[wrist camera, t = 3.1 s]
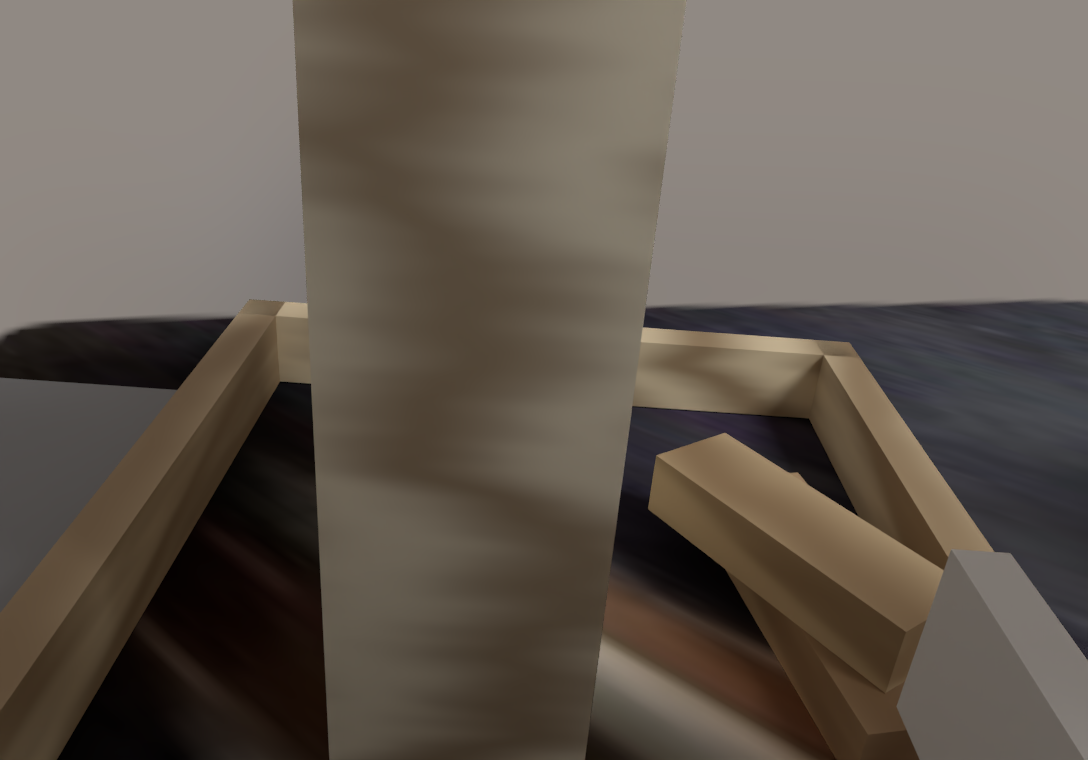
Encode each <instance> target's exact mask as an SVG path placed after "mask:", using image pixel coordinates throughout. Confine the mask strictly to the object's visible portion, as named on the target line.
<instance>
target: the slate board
mask: <svg viewBox="0 0 1088 760" xmlns="http://www.w3.org/2000/svg"><path fill="white" fill-rule="evenodd" d="M176 391H177V390H170V389H155V388H141V387H126V386H112V385H98V384H83V383H69V382H54V381H40V380H26V379H11V378H0V612H1V611H2V610H3V609H4V607H5V606H6V605H7V604H8V602H9V601H10V600H11V599H12V597H13V596H14V595H15V594H16V592H17V591H18V590H19V589H20V587H21V586H22V585H23V584H24V582H25V581H26V580H27V579H28V577H29V576H30V575H31V573H32V572H33V571H34V570H35V568H36V567H37V566H38V565H39V563H40V562H41V561H42V560H43V558H44V557H45V556H46V555H47V553H48V552H49V551H50V550H51V548H52V547H53V546H54V545H55V543H56V542H57V541H58V540H59V538H60V537H61V536H62V535H63V533H64V532H65V531H66V529H67V528H68V527H69V526H70V524H71V523H72V522H73V521H74V519H75V518H76V517H77V516H78V514H79V513H80V512H81V511H82V509H83V508H84V507H85V506H86V504H87V503H88V502H89V501H90V499H91V498H92V497H93V496H94V494H95V493H96V492H97V491H98V489H99V488H100V487H101V485H102V484H103V483H104V482H105V480H106V479H107V478H108V477H109V475H110V474H111V473H112V472H113V470H114V469H115V468H116V467H117V465H118V464H119V463H120V462H121V460H122V459H123V458H124V457H125V455H126V454H127V453H128V452H129V450H130V449H131V448H132V447H133V445H134V444H135V443H136V441H137V440H138V439H139V438H140V436H141V435H142V434H143V433H144V431H145V430H146V429H147V428H148V426H149V425H150V424H151V423H152V421H153V420H154V419H155V418H156V416H157V415H158V414H159V413H160V411H161V410H162V409H163V408H164V406H165V405H166V404H167V403H168V401H169V400H170V399H171V397H172V396H173V395H174V394H175V392H176Z"/></svg>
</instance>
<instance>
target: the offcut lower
mask: <svg viewBox="0 0 1088 760" xmlns="http://www.w3.org/2000/svg"><path fill="white" fill-rule="evenodd" d="M790 474H791V475H793V476H794V477H796V478H798V479H799V480H801V481H802V482H804V483H806V482H805V481H804V479H803V478H802V477H801V476H800V474H799V473H790ZM806 484H807V483H806ZM807 485H808V484H807ZM725 570H726V569H725ZM726 571H727V570H726ZM727 573H728V575H729V577H730V578H731V580H732V582H733V583H734V585H735V587H736V589H737V590H738V592H739V594H740V595H741V597H742V599H743V601H744V602H745V604H746V606H747V607H748V609H749V611H750V613H751V614H752V616H753V618H754V619H755V621H756V623H757V625H758V626H759V628H760V630H761V631H762V633H763V635H764V637H765V638H766V640H767V642H768V643H769V645H770V647H771V649H772V650H773V652H774V654H775V655H776V657H777V659H778V661H779V662H780V664H781V666H782V667H783V669H784V671H785V673H786V674H787V676H788V678H789V679H790V681H791V683H792V685H793V686H794V688H795V690H796V691H797V693H798V695H799V697H800V698H801V700H802V702H803V703H804V705H805V707H806V709H807V710H808V712H809V714H810V715H811V717H812V719H813V721H814V722H815V724H816V726H817V727H818V729H819V731H820V733H821V734H822V736H823V738H824V739H825V741H826V743H827V745H828V746H829V748H830V750H831V751H832V753H833V755H834V757H835V758H836V760H919V757H918V755H917V753H916V750H915V748H914V746H913V743H912V741H911V739H910V737H909V734H908V732H907V730H906V727H905V725H904V723H903V720H902V718H901V716H900V714H899V711H898V709H897V707H896V706H897V703H898V701H899V698H900V695H901V692H902V689H903V686H904V683H905V681H904V682H902V683H901V684H899V685H898V686H896V687H895V688H893V689H891V690H890V691H888V692H887V693H884V692H883V691H882V690H880V689H879V688H878V687H876V686H875V685H874V684H873V683H871V682H870V681H869V680H867V679H866V678H865V677H864V676H862V675H861V674H860V673H858V672H857V671H856V670H855V669H853V668H852V667H851V666H849V665H848V664H847V663H846V662H844V661H843V660H842V659H840V658H839V657H838V656H837V655H835V654H834V653H833V652H831V651H830V650H829V649H828V648H826V647H825V646H824V645H822V644H821V643H820V642H819V641H817V640H816V639H815V638H813V637H812V636H811V635H810V634H808V633H807V632H806V631H804V630H803V629H802V628H801V627H799V626H798V625H797V624H795V623H794V622H793V621H792V620H790V619H789V618H788V617H786V616H785V615H784V614H783V613H781V612H780V611H779V610H777V609H776V608H775V607H773V606H772V605H771V604H770V603H768V602H767V601H766V600H764V599H763V598H762V597H761V596H759V595H758V594H757V593H755V592H754V591H753V590H752V589H750V588H749V587H748V586H746V585H745V584H744V583H743V582H741V581H740V580H739V579H737V578H736V577H735V576H734V575H732V574H731V573H730V572H728V571H727Z"/></svg>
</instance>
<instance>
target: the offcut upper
mask: <svg viewBox="0 0 1088 760" xmlns="http://www.w3.org/2000/svg"><path fill="white" fill-rule="evenodd" d="M648 509H649V510H650V511H651V512H652V513H654V514H655V515H656V516H658V517H659V518H660V519H661V520H663V521H664V522H665V523H667V524H668V525H669V526H671V527H672V528H673V529H674V530H676V531H677V532H678V533H680V534H681V535H682V536H683V537H685V538H686V539H687V540H689V541H690V542H691V543H692V544H694V545H695V546H696V547H698V548H699V549H700V550H701V551H703V552H704V553H705V554H707V555H708V556H709V557H710V558H712V559H713V560H714V561H716V562H717V563H718V564H719V565H721V566H722V567H723V568H725V569H726V570H727V571H728V572H730V573H731V574H732V575H734V576H735V577H736V578H737V579H739V580H740V581H741V582H743V583H744V584H745V585H746V586H748V587H749V588H750V589H752V590H753V591H754V592H755V593H757V594H758V595H759V596H761V597H762V598H763V599H764V600H766V601H767V602H768V603H770V604H771V605H772V606H773V607H775V608H776V609H777V610H779V611H780V612H781V613H783V614H784V615H785V616H786V617H788V618H789V619H790V620H792V621H793V622H794V623H795V624H797V625H798V626H799V627H801V628H802V629H803V630H804V631H806V632H807V633H808V634H810V635H811V636H812V637H813V638H815V639H816V640H817V641H819V642H820V643H821V644H822V645H824V646H825V647H826V648H828V649H829V650H830V651H831V652H833V653H834V654H835V655H837V656H838V657H839V658H840V659H842V660H843V661H844V662H846V663H847V664H848V665H849V666H851V667H852V668H853V669H855V670H856V671H857V672H858V673H860V674H861V675H862V676H864V677H865V678H866V679H867V680H869V681H870V682H871V683H873V684H874V685H875V686H876V687H878V688H879V689H880V690H882V691H883V692H884V693H887V692H888V691H890V690H891V689H893V688H895V687H896V686H898V685H899V684H901V683H902V682H904V681H905V680H906V678H907V675H908V672H909V669H910V666H911V663H912V660H913V658H914V655H915V652H916V649H917V646H918V643H919V640H920V637H921V635H922V632H923V629H924V626H925V623H926V620H927V617H928V614H929V612H930V609H931V606H932V603H933V600H934V597H935V594H936V591H937V589H938V586H939V583H940V580H941V577H942V574H943V571H944V570H942V569H941V568H939V567H938V566H936V565H934V564H933V563H931V562H930V561H928V560H926V559H925V558H923V557H922V556H920V555H918V554H917V553H915V552H914V551H912V550H911V549H909V548H907V547H906V546H904V545H903V544H901V543H899V542H898V541H896V540H895V539H893V538H891V537H890V536H888V535H887V534H885V533H883V532H882V531H880V530H879V529H877V528H876V527H874V526H872V525H871V524H869V523H868V522H866V521H864V520H863V519H861V518H860V517H858V516H856V515H855V514H853V513H852V512H850V511H849V510H847V509H845V508H844V507H842V506H841V505H839V504H837V503H836V502H834V501H833V500H831V499H829V498H828V497H826V496H825V495H823V494H821V493H820V492H818V491H817V490H815V489H814V488H812V487H810V486H809V485H807V484H806V483H804V482H802V481H801V480H799V479H798V478H796V477H794V476H793V475H791V474H790V473H788V472H786V471H785V470H783V469H782V468H780V467H779V466H777V465H775V464H774V463H772V462H771V461H769V460H767V459H766V458H764V457H763V456H761V455H759V454H758V453H756V452H755V451H753V450H752V449H750V448H748V447H747V446H745V445H744V444H742V443H740V442H739V441H737V440H736V439H734V438H732V437H731V436H729V435H728V434H726V433H723V434H720V435H717V436H714V437H711V438H708V439H705V440H702V441H699V442H696V443H693V444H690V445H687V446H684V447H681V448H678V449H675V450H672V451H669V452H666V453H663V454H660V455H657V456H656V462H655V468H654V474H653V481H652V487H651V493H650V500H649V506H648Z"/></svg>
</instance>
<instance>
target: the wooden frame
mask: <svg viewBox="0 0 1088 760" xmlns="http://www.w3.org/2000/svg"><path fill="white" fill-rule="evenodd" d="M280 381H281V382H295V383H310V384H311V370H310V349H309V328H308V308H307V303H293V302H279V301H265V300H251V299H250V300H249V301H248V302H247V303H246V305H245V306H244V307H243V309H241V311H240V312H239V313H238V315H237V316H236V317H235V318H234V320H233V321H232V322H231V323H230V325H229V326H228V327H227V328H226V330H225V331H224V332H223V333H222V335H221V336H220V337H219V338H218V340H217V341H216V342H215V343H214V345H213V346H212V347H211V348H210V350H209V351H208V352H207V353H206V355H205V356H204V357H203V359H202V360H201V361H200V362H199V364H198V365H197V366H196V367H195V369H194V370H193V371H192V372H191V374H190V375H189V376H188V377H187V379H186V380H185V381H184V382H183V384H182V385H181V386H180V387H179V389H178V390H177V391H176V392H175V394H174V395H173V396H172V397H171V399H170V400H169V401H168V403H167V404H166V405H165V406H164V408H163V409H162V410H161V411H160V413H159V414H158V415H157V416H156V418H155V419H154V420H153V421H152V423H151V424H150V425H149V426H148V428H147V429H146V430H145V431H144V433H143V434H142V435H141V436H140V438H139V439H138V440H137V441H136V443H135V444H134V445H133V447H132V448H131V449H130V450H129V452H128V453H127V454H126V455H125V457H124V458H123V459H122V460H121V462H120V463H119V464H118V465H117V467H116V468H115V469H114V470H113V472H112V473H111V474H110V475H109V477H108V478H107V479H106V480H105V482H104V483H103V484H102V485H101V487H100V488H99V489H98V491H97V492H96V493H95V494H94V496H93V497H92V498H91V499H90V501H89V502H88V503H87V504H86V506H85V507H84V508H83V509H82V511H81V512H80V513H79V514H78V516H77V517H76V518H75V519H74V521H73V522H72V523H71V524H70V526H69V527H68V528H67V529H66V531H65V532H64V533H63V535H62V536H61V537H60V538H59V540H58V541H57V542H56V543H55V545H54V546H53V547H52V548H51V550H50V551H49V552H48V553H47V555H46V556H45V557H44V558H43V560H42V561H41V562H40V563H39V565H38V566H37V567H36V568H35V570H34V571H33V572H32V573H31V575H30V576H29V577H28V579H27V580H26V581H25V582H24V584H23V585H22V586H21V587H20V589H19V590H18V591H17V592H16V594H15V595H14V596H13V597H12V599H11V600H10V601H9V602H8V604H7V605H6V606H5V607H4V609H3V610H2V611H1V612H0V760H57V759H58V757H59V755H60V754H61V752H62V750H63V748H64V747H65V745H66V743H67V742H68V740H69V738H70V737H71V735H72V733H73V732H74V730H75V728H76V726H77V725H78V723H79V721H80V720H81V718H82V716H83V715H84V713H85V711H86V709H87V708H88V706H89V704H90V703H91V701H92V699H93V698H94V696H95V694H96V693H97V691H98V689H99V687H100V686H101V684H102V682H103V681H104V679H105V677H106V676H107V674H108V672H109V670H110V669H111V667H112V665H113V664H114V662H115V660H116V659H117V657H118V655H119V654H120V652H121V650H122V648H123V647H124V645H125V643H126V642H127V640H128V638H129V637H130V635H131V633H132V631H133V630H134V628H135V626H136V625H137V623H138V621H139V620H140V618H141V616H142V614H143V613H144V611H145V609H146V608H147V606H148V604H149V603H150V601H151V599H152V598H153V596H154V594H155V592H156V591H157V589H158V587H159V586H160V584H161V582H162V581H163V579H164V577H165V575H166V574H167V572H168V570H169V569H170V567H171V565H172V564H173V562H174V560H175V559H176V557H177V555H178V553H179V552H180V550H181V548H182V547H183V545H184V543H185V542H186V540H187V538H188V536H189V535H190V533H191V531H192V530H193V528H194V526H195V525H196V523H197V521H198V520H199V518H200V516H201V514H202V513H203V511H204V509H205V508H206V506H207V504H208V503H209V501H210V499H211V497H212V496H213V494H214V492H215V491H216V489H217V487H218V486H219V484H220V482H221V481H222V479H223V477H224V475H225V474H226V472H227V470H228V469H229V467H230V465H231V464H232V462H233V460H234V458H235V457H236V455H237V453H238V452H239V450H240V448H241V447H242V445H243V443H244V442H245V440H246V438H247V436H248V435H249V433H250V431H251V430H252V428H253V426H254V425H255V423H256V421H257V419H258V418H259V416H260V414H261V413H262V411H263V409H264V408H265V406H266V404H267V403H268V401H269V399H270V397H271V396H272V394H273V392H274V391H275V389H276V387H277V386H278V384H279V382H280ZM632 406H639V407H653V408H667V409H682V410H696V411H710V412H725V413H739V414H753V415H768V416H782V417H796V418H809V420H810V422H811V424H812V426H813V428H814V430H815V432H816V434H817V436H818V437H819V439H820V441H821V443H822V445H823V447H824V449H825V451H826V453H827V455H828V457H829V459H830V461H831V463H832V465H833V467H834V469H835V471H836V473H837V475H838V477H839V479H840V481H841V483H842V485H843V487H844V489H845V491H846V493H847V495H848V497H849V499H850V500H851V502H852V504H853V506H854V508H855V510H856V512H857V514H858V516H859V517H860V518H861V519H863V520H864V521H866V522H868V523H869V524H871V525H872V526H874V527H876V528H877V529H879V530H880V531H882V532H883V533H885V534H887V535H888V536H890V537H891V538H893V539H895V540H896V541H898V542H899V543H901V544H903V545H904V546H906V547H907V548H909V549H911V550H912V551H914V552H915V553H917V554H918V555H920V556H922V557H923V558H925V559H926V560H928V561H930V562H931V563H933V564H934V565H936V566H938V567H939V568H941V569H942V570H944V569H945V566H946V563H947V560H948V557H949V554H950V551H951V549H957V550H971V551H986V552H994V551H993V549H992V548H991V546H990V545H989V543H988V542H987V541H986V539H985V538H984V536H983V535H982V533H981V532H980V531H979V529H978V528H977V526H976V525H975V523H974V522H973V520H972V519H971V518H970V516H969V515H968V513H967V512H966V510H965V509H964V507H963V506H962V505H961V503H960V502H959V500H958V499H957V497H956V496H955V494H954V493H953V492H952V490H951V489H950V487H949V486H948V484H947V483H946V481H945V480H944V479H943V477H942V476H941V474H940V473H939V471H938V470H937V468H936V467H935V466H934V464H933V463H932V461H931V460H930V458H929V457H928V455H927V454H926V453H925V451H924V450H923V448H922V447H921V445H920V444H919V443H918V441H917V440H916V438H915V437H914V435H913V434H912V432H911V431H910V430H909V428H908V427H907V425H906V424H905V422H904V421H903V419H902V418H901V417H900V415H899V414H898V412H897V411H896V409H895V408H894V406H893V405H892V404H891V402H890V401H889V399H888V398H887V396H886V395H885V393H884V392H883V391H882V389H881V388H880V386H879V385H878V383H877V382H876V380H875V379H874V378H873V376H872V375H871V373H870V372H869V370H868V369H867V367H866V366H865V365H864V363H863V362H862V360H861V359H860V357H859V356H858V355H857V353H856V352H855V350H854V349H853V347H852V346H851V344H850V343H848V342H835V341H821V340H807V339H793V338H779V337H765V336H751V335H737V334H723V333H710V332H696V331H682V330H668V329H654V328H643V329H642V337H641V344H640V352H639V359H638V367H637V374H636V382H635V389H634V397H633V404H632Z"/></svg>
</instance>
